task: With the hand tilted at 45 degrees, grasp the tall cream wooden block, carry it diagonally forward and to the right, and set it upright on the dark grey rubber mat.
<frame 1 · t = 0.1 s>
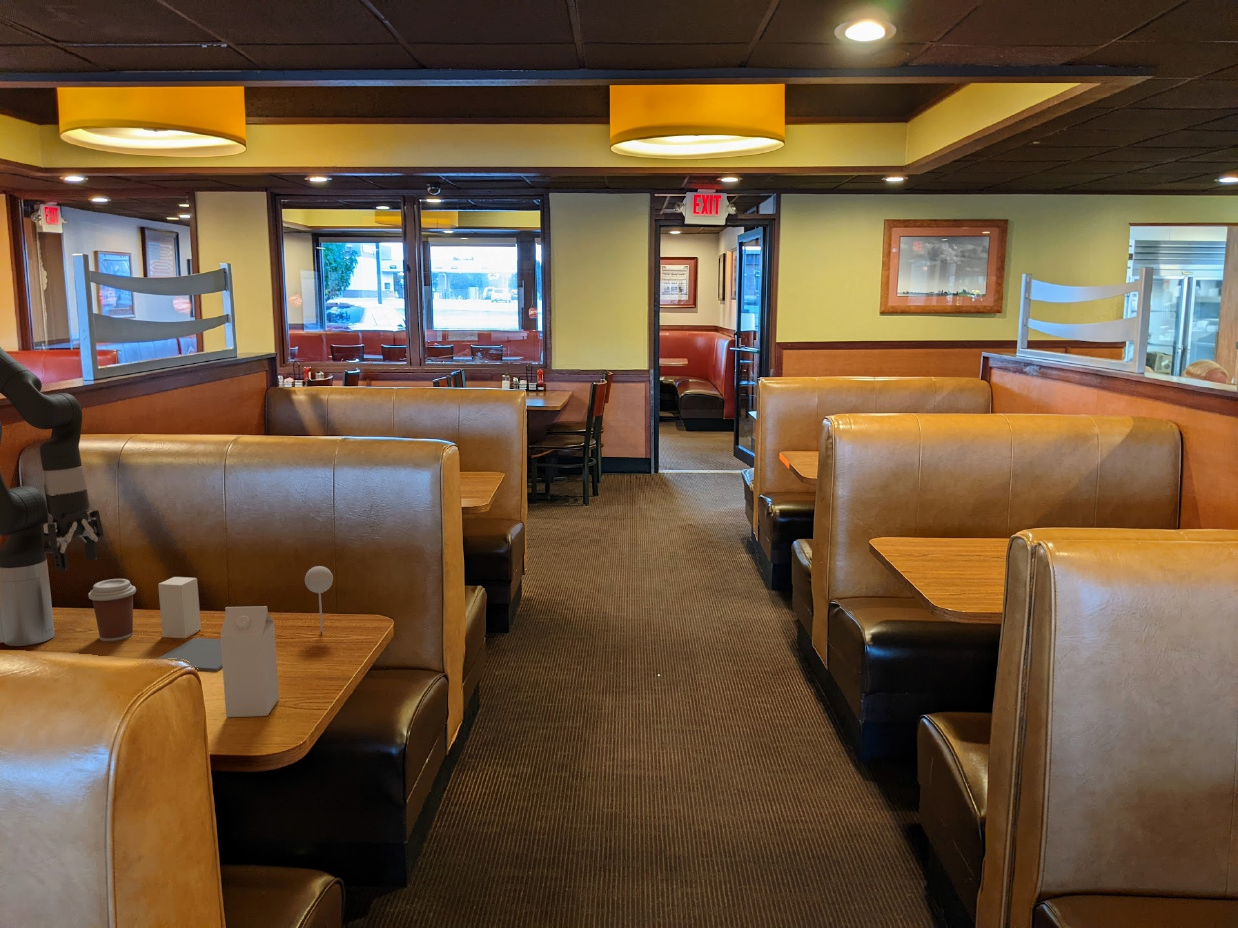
hand: (77, 564, 192), 17 cm above the table, tool pointing down, fingers open, 8 cm apart
lollipop: (321, 632, 201), on the table
milk carton: (253, 709, 162), on the table
mat: (205, 655, 188), on the table
block: (182, 633, 200), on the table
coffee cup: (116, 636, 199), on the table
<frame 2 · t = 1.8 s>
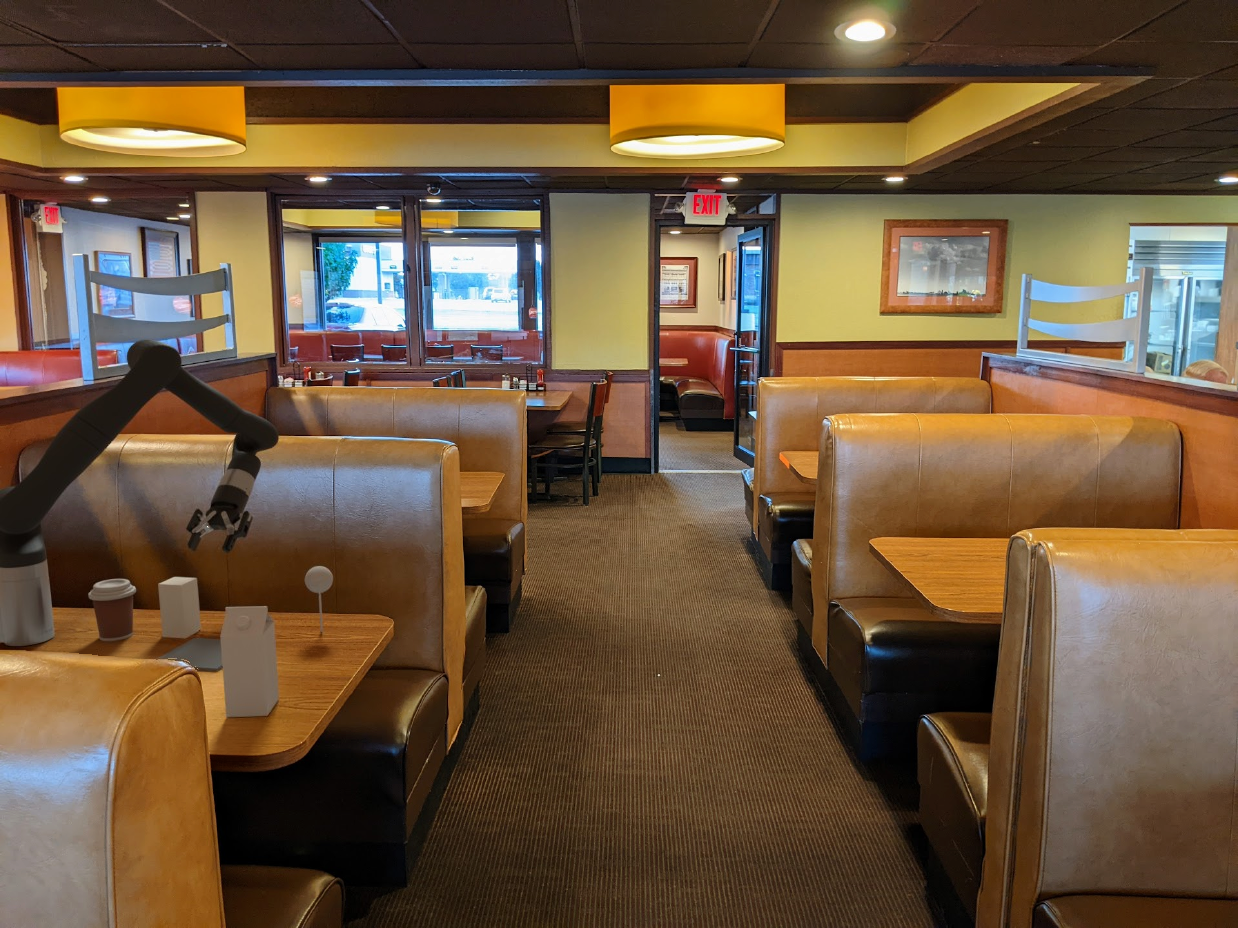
hand: (208, 550, 209), 16 cm above the table, tool tilted 45°, fingers open, 8 cm apart
nothing on the table moved.
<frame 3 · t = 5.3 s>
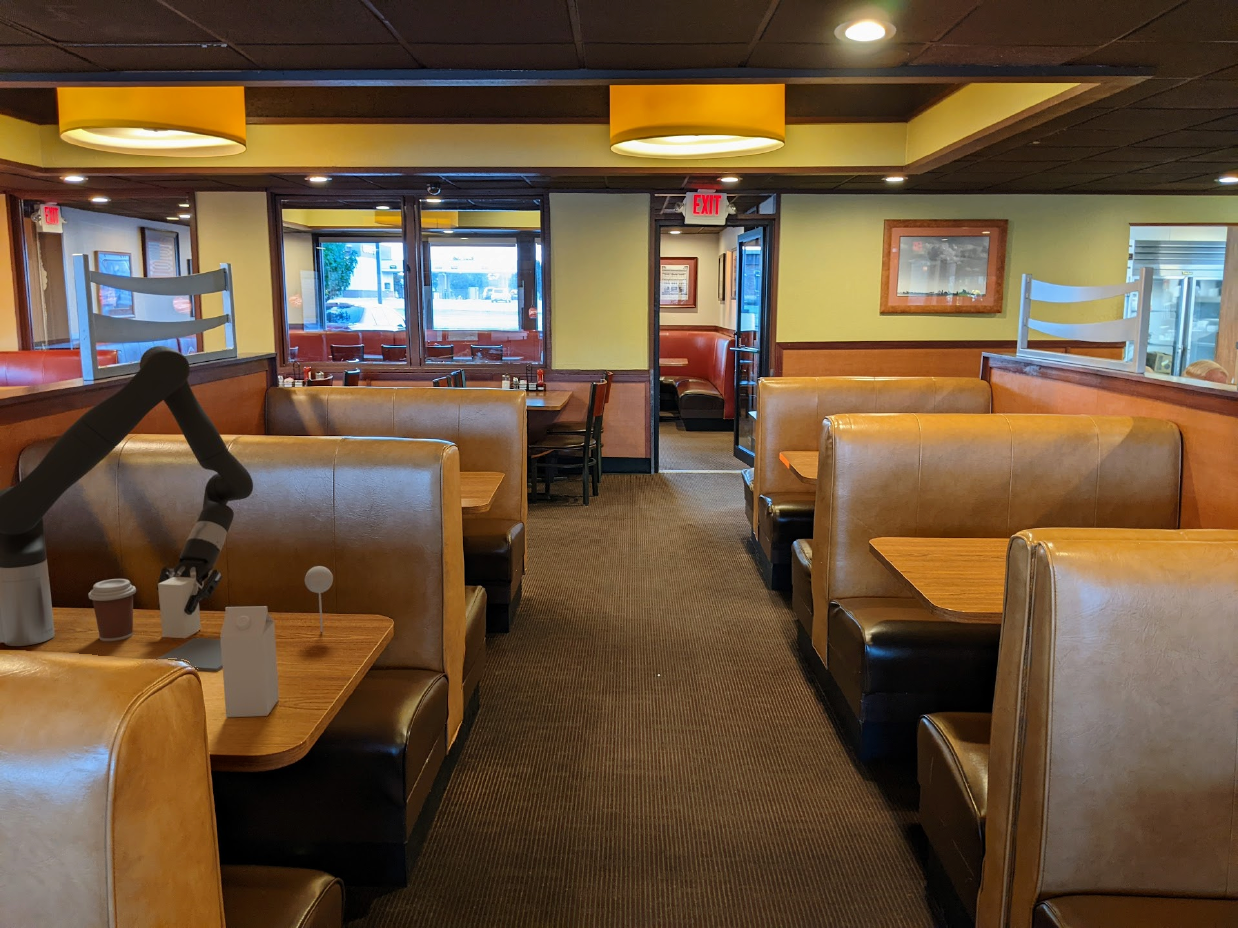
hand: (174, 612, 198), 5 cm above the table, tool tilted 45°, fingers closed on block, 5 cm apart
block: (181, 633, 200), on the table, touching gripper
everything else where it was.
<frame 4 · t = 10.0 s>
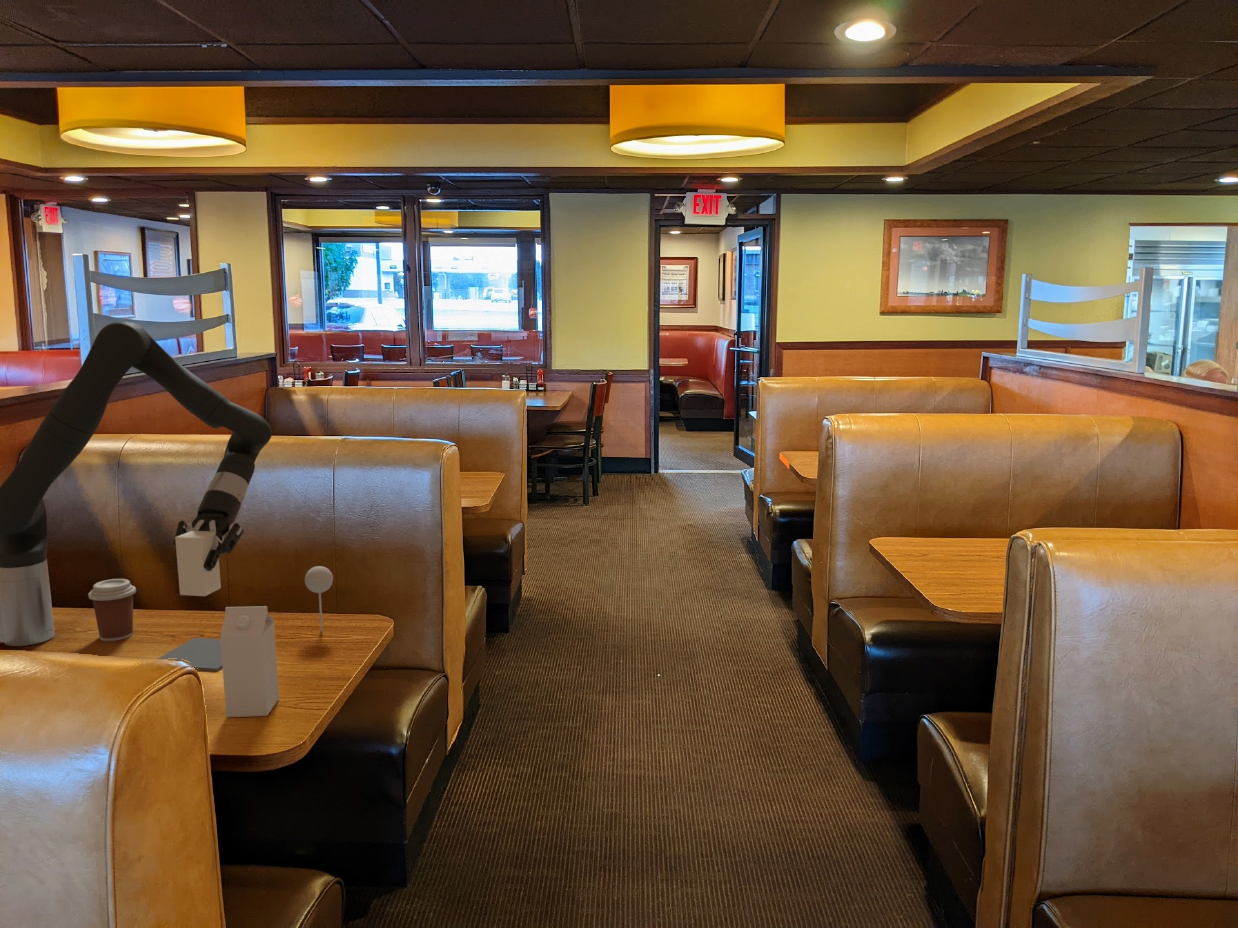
hand: (193, 567, 183), 19 cm above the table, tool tilted 45°, fingers closed on block, 5 cm apart
block: (200, 591, 185), point 14 cm above the table, touching gripper
everything else where it was.
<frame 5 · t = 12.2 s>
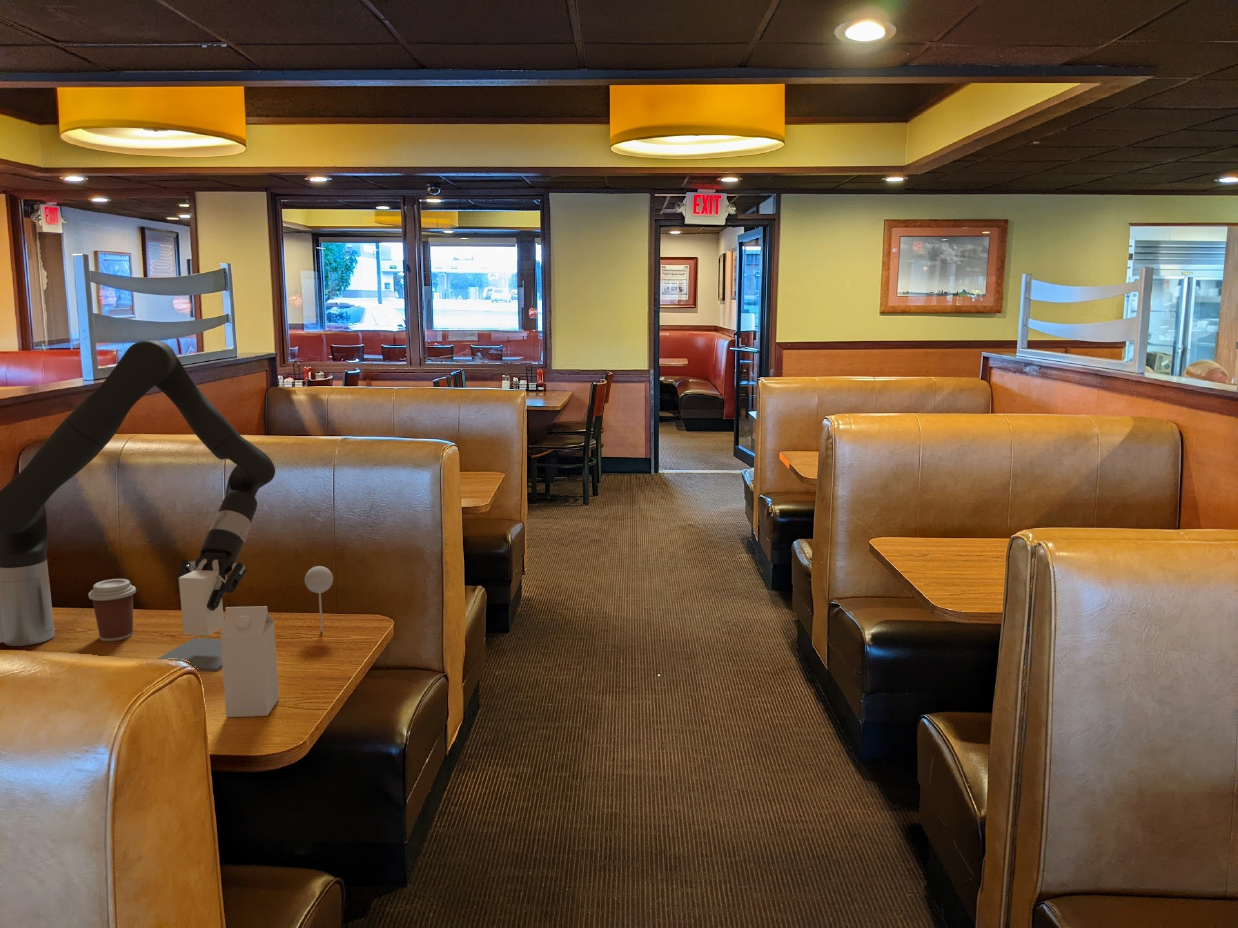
hand: (196, 607, 184), 11 cm above the table, tool tilted 45°, fingers closed on block, 5 cm apart
block: (204, 630, 187), point 5 cm above the table, touching gripper
everything else where it was.
when the fingers open (7 cm above the table, at t = 14.5 s): block stays where it is, resting on mat.
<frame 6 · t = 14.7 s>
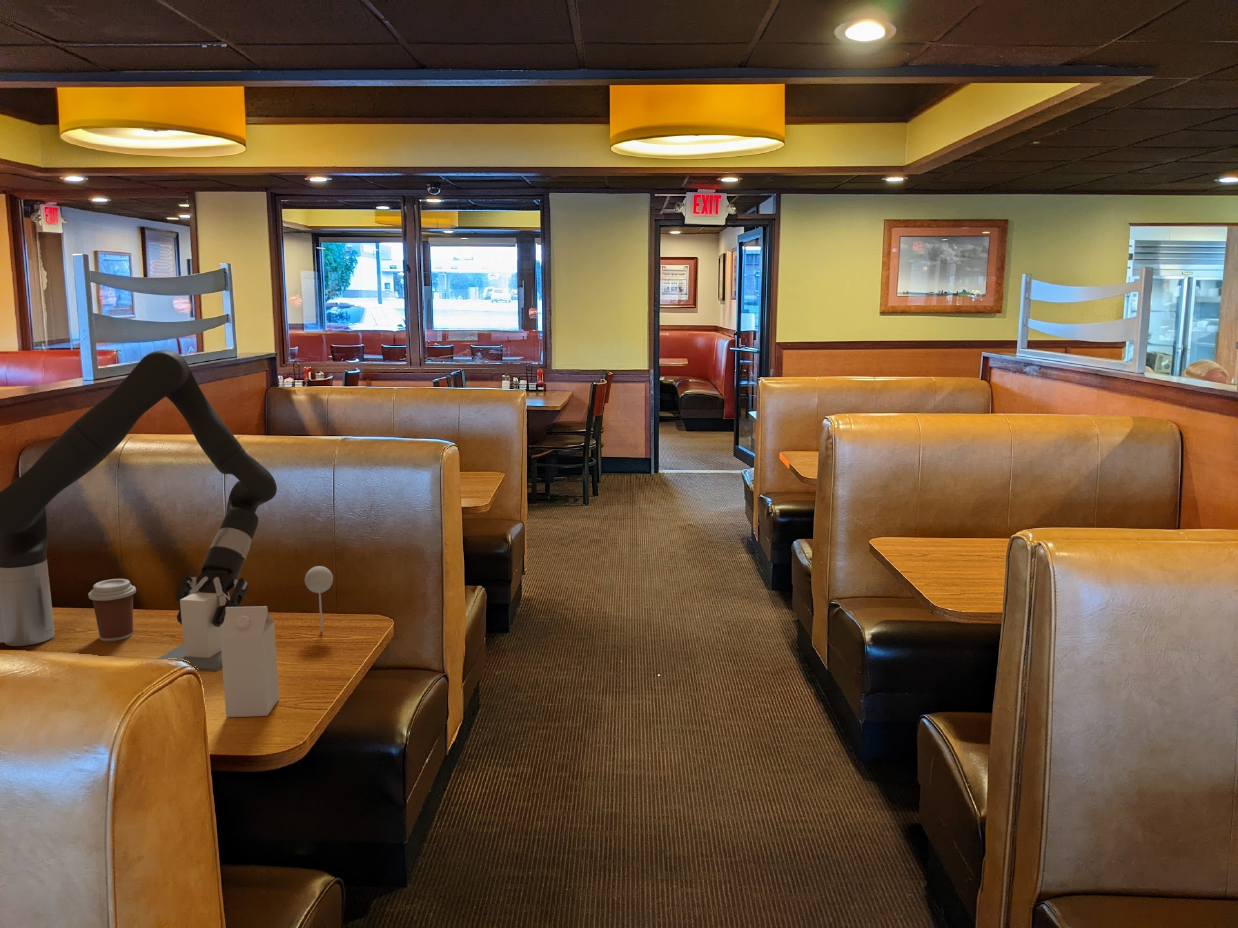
hand: (198, 623, 185), 7 cm above the table, tool tilted 45°, fingers open, 7 cm apart
block: (205, 651, 188), point 1 cm above the table, touching mat
everything else where it was.
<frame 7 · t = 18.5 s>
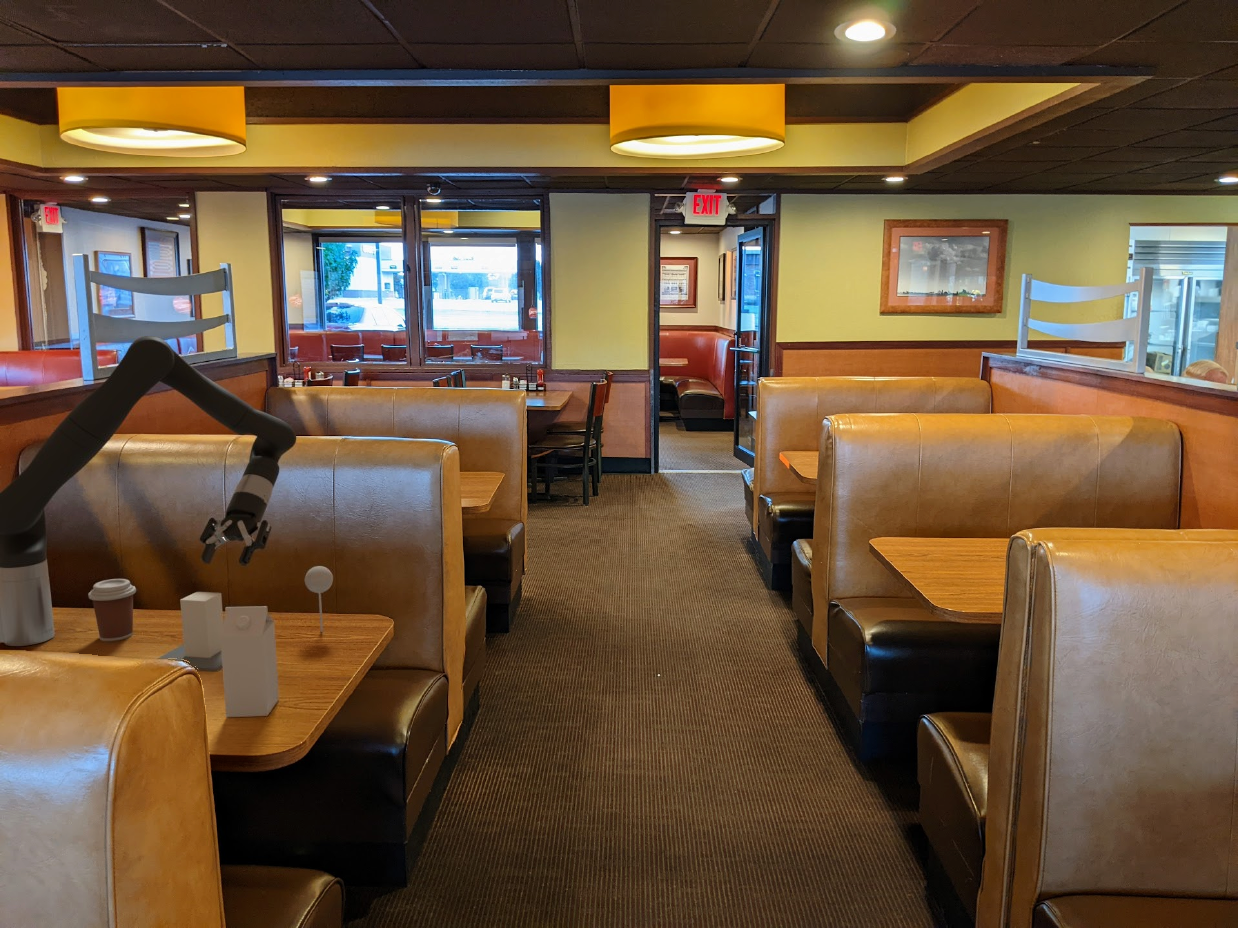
hand: (223, 563, 193), 17 cm above the table, tool tilted 45°, fingers open, 8 cm apart
nothing on the table moved.
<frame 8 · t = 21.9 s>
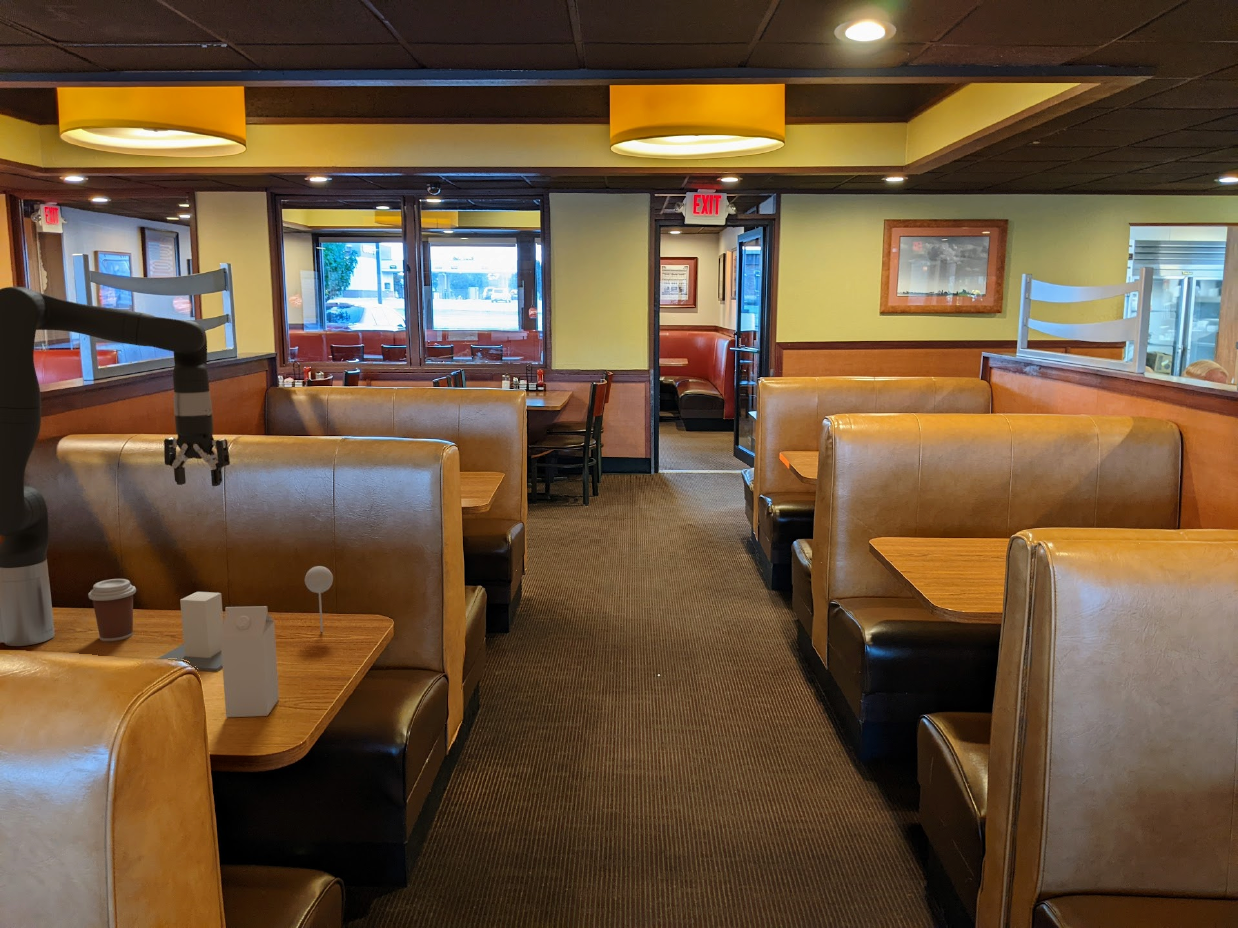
hand: (198, 485, 202), 32 cm above the table, tool pointing down, fingers open, 8 cm apart
nothing on the table moved.
at the end: block inside the target area on the mat (0.1 cm from its centre), point 0.6 cm above the mat's base; block tilted 0°; the gripper is holding nothing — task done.
